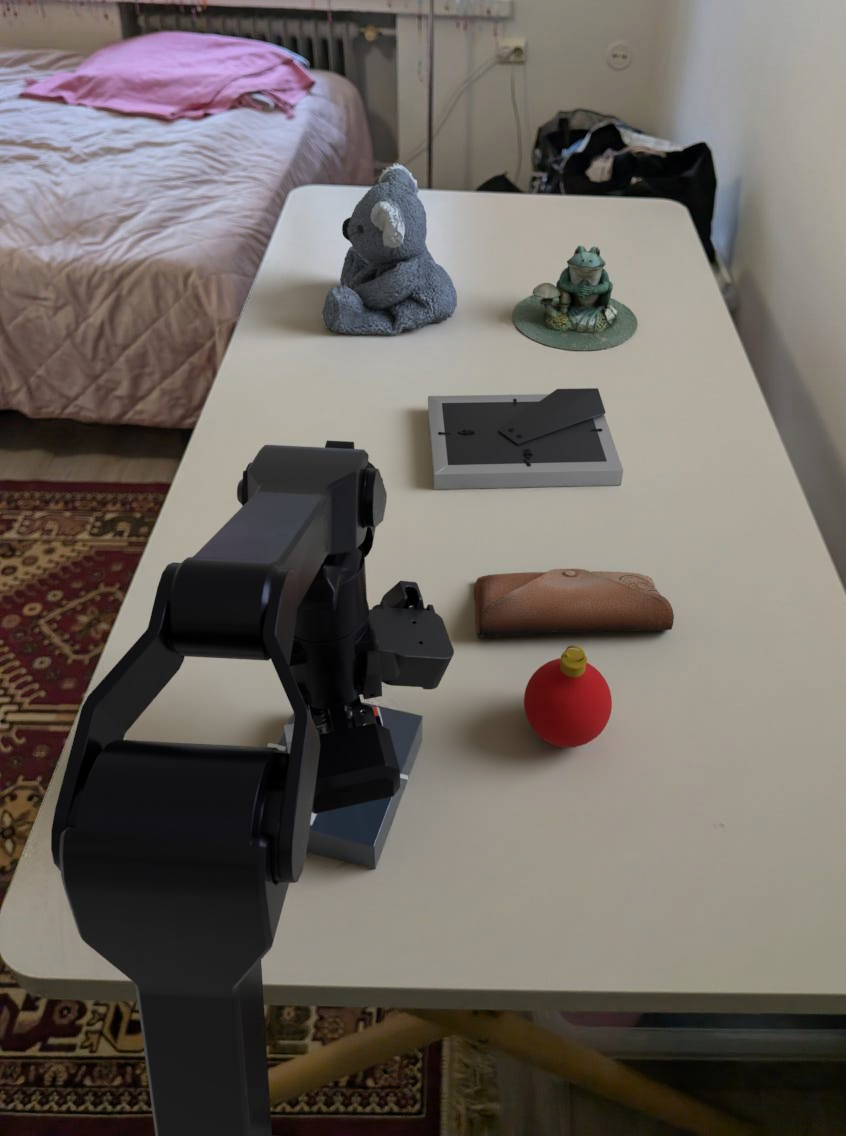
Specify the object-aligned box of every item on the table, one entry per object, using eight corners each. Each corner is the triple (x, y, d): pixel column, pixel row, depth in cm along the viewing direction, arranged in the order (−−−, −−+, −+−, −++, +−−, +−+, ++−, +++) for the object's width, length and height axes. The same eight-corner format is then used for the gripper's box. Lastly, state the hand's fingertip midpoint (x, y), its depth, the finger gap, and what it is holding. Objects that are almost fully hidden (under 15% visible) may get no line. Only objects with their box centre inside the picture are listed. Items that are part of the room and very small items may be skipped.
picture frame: (595, 407, 119) (427, 410, 117) (598, 388, 117) (427, 390, 115) (621, 485, 106) (434, 489, 104) (624, 464, 105) (434, 468, 103)
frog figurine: (505, 343, 130) (510, 263, 123) (519, 286, 144) (524, 211, 137) (636, 357, 129) (648, 277, 122) (638, 297, 143) (649, 223, 136)
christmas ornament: (615, 711, 81) (631, 629, 75) (593, 777, 76) (608, 694, 70) (536, 686, 83) (545, 604, 77) (509, 748, 78) (516, 665, 72)
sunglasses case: (651, 570, 94) (669, 550, 88) (660, 641, 92) (679, 625, 86) (470, 577, 93) (474, 556, 87) (474, 648, 90) (479, 633, 84)
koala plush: (344, 281, 143) (337, 150, 131) (463, 290, 143) (467, 159, 130) (318, 337, 130) (307, 196, 118) (449, 348, 129) (452, 207, 117)
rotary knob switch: (383, 872, 69) (382, 847, 67) (239, 835, 71) (233, 810, 69) (429, 740, 78) (430, 715, 76) (301, 711, 80) (298, 686, 78)
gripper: (481, 695, 58) (473, 841, 67) (411, 506, 72) (413, 649, 81) (295, 732, 55) (314, 879, 65) (260, 528, 69) (280, 674, 79)
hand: (336, 757), depth 72 cm, fingers open, 3 cm apart
